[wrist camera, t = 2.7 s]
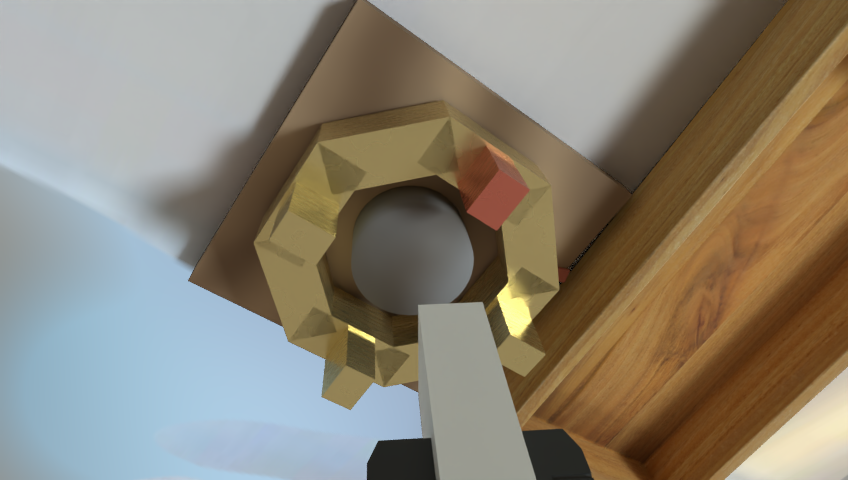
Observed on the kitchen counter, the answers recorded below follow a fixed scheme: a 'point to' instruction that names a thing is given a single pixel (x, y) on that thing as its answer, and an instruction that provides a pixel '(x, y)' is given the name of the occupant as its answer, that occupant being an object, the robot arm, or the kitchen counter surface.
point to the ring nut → (389, 163)
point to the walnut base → (402, 201)
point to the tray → (713, 275)
